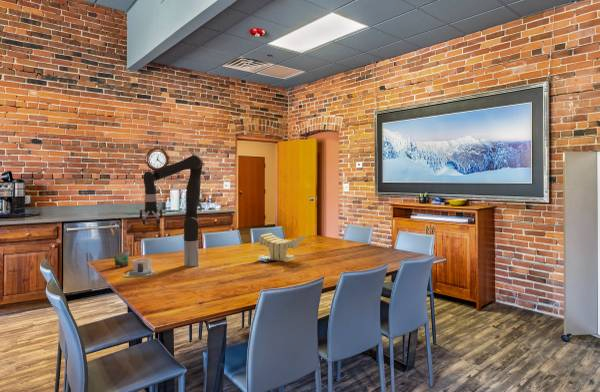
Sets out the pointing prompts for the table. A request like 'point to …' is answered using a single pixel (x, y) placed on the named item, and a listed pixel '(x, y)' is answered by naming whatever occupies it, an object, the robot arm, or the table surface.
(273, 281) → the table surface
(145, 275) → the mat
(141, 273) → the lid
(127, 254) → the food container
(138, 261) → the bowl
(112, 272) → the table surface
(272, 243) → the slatted curved stool
